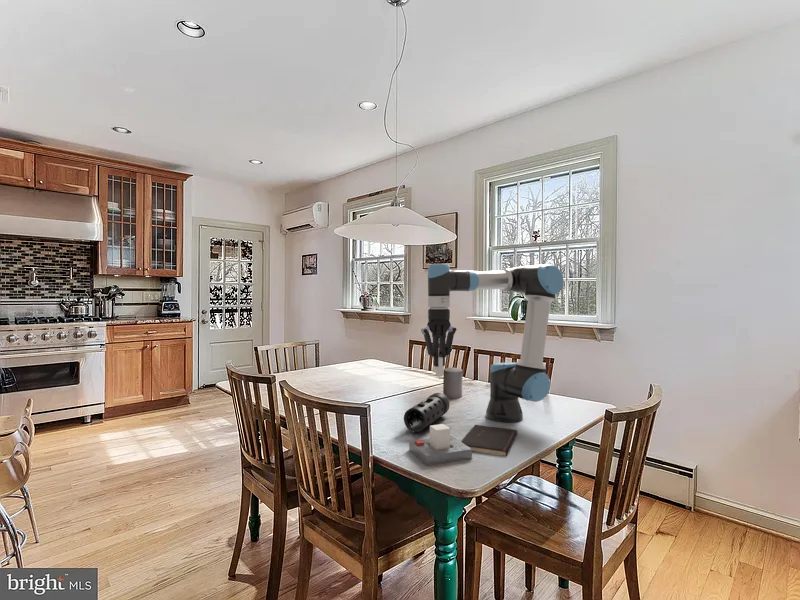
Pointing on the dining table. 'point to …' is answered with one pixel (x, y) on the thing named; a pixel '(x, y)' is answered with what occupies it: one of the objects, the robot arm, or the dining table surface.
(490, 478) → the dining table surface
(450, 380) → the pillar candle
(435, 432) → the plug
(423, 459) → the socket plate
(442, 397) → the muzzle brake
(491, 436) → the hardcover book
